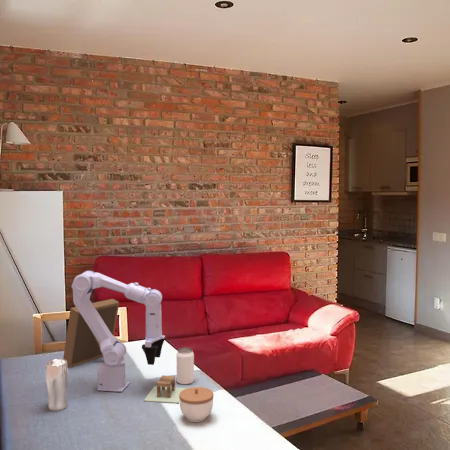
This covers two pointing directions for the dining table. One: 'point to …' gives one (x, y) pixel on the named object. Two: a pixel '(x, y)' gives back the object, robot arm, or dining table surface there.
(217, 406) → the dining table surface
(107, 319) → the photo frame
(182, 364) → the can
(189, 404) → the lidded jar
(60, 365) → the beer glass
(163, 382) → the stool
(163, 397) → the mat
